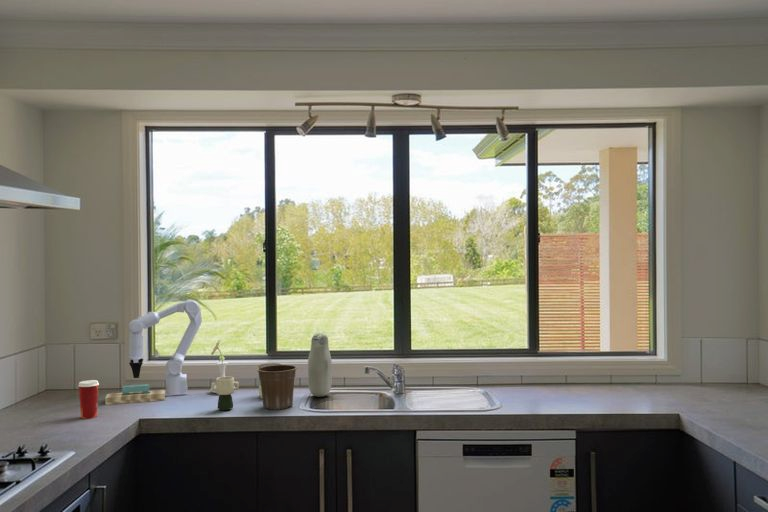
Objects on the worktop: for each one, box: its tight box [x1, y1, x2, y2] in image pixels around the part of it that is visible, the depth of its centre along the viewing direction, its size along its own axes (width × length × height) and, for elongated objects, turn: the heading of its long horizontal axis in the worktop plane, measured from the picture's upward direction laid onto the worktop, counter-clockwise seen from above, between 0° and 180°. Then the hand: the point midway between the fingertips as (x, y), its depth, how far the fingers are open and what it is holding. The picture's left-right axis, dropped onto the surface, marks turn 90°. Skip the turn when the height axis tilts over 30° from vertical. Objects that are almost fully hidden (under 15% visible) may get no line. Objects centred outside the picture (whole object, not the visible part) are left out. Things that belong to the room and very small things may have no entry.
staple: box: [121, 383, 150, 395], centre depth 284 cm, size 11×3×6 cm, turn 108°
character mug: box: [210, 376, 240, 411], centre depth 264 cm, size 11×7×13 cm, turn 102°
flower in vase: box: [209, 339, 236, 394], centre depth 298 cm, size 13×11×25 cm
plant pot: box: [256, 364, 297, 411], centre depth 269 cm, size 16×16×16 cm
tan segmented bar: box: [104, 389, 166, 406], centre depth 284 cm, size 24×9×3 cm, turn 108°
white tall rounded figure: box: [307, 333, 333, 398], centre depth 287 cm, size 10×10×28 cm
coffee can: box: [258, 362, 282, 399], centre depth 289 cm, size 10×10×14 cm
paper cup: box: [77, 379, 100, 420], centre depth 255 cm, size 8×8×14 cm
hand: (136, 376), depth 291 cm, fingers open, 7 cm apart
